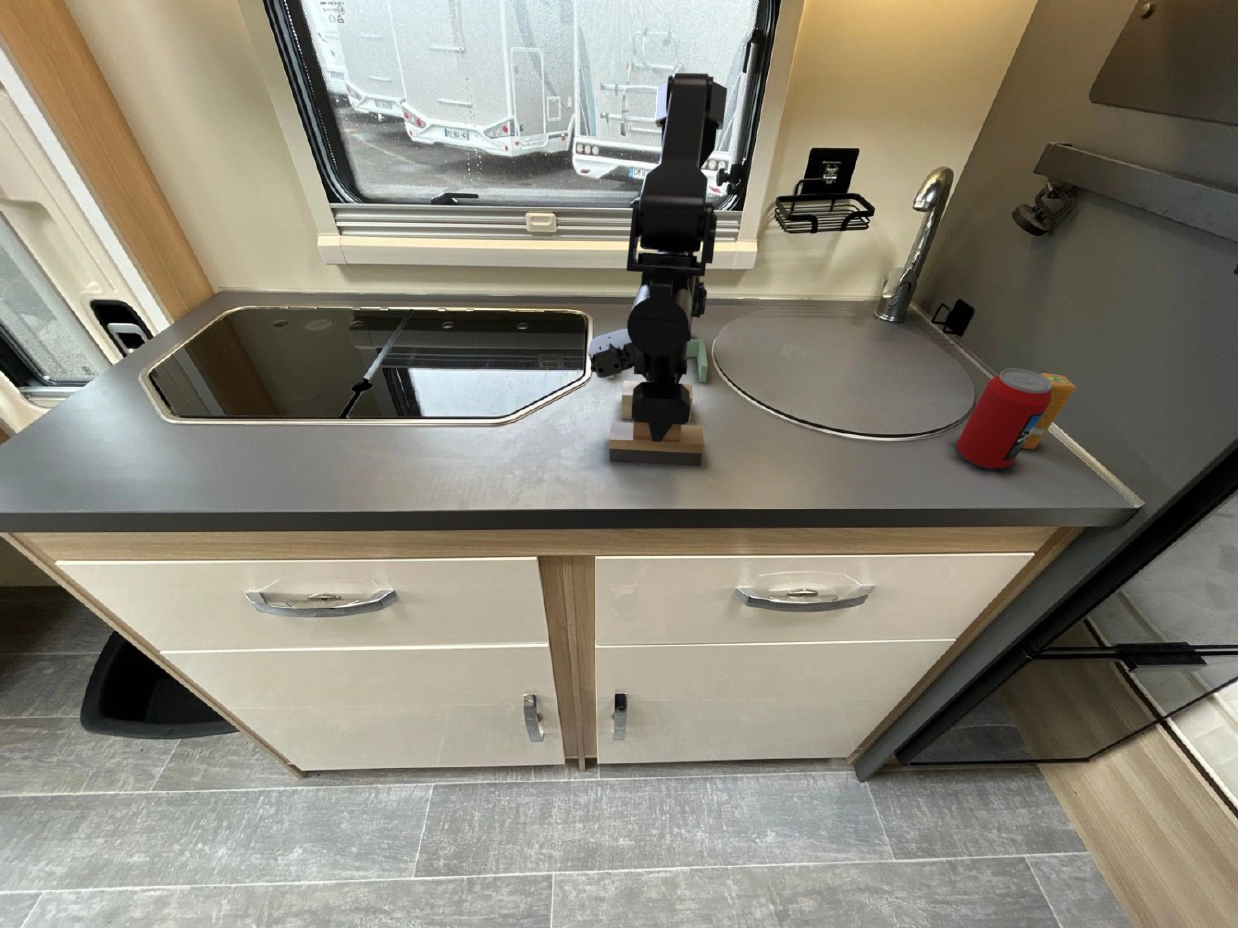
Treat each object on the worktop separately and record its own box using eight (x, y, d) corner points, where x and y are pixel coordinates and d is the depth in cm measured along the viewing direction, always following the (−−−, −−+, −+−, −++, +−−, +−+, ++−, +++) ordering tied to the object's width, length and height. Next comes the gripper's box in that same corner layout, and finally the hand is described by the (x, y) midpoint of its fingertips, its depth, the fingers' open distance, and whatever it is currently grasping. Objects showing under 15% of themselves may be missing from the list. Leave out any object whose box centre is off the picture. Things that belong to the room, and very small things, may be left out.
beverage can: (1018, 476, 68) (1070, 396, 60) (961, 469, 69) (1005, 389, 61) (999, 445, 73) (1045, 368, 65) (947, 439, 74) (986, 362, 66)
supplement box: (1037, 450, 72) (1079, 387, 66) (1010, 447, 72) (1049, 384, 66) (1027, 436, 74) (1066, 374, 68) (1001, 433, 75) (1037, 371, 69)
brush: (611, 442, 72) (611, 395, 67) (699, 447, 71) (705, 400, 67) (609, 460, 69) (609, 413, 64) (700, 465, 68) (707, 417, 64)
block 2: (662, 405, 79) (664, 382, 77) (689, 406, 79) (691, 383, 77) (662, 420, 76) (664, 397, 74) (690, 421, 76) (692, 398, 74)
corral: (612, 351, 93) (612, 335, 91) (702, 355, 92) (704, 339, 90) (607, 378, 86) (607, 361, 84) (705, 382, 85) (708, 366, 83)
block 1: (623, 403, 80) (623, 380, 77) (649, 405, 80) (650, 382, 77) (621, 418, 77) (621, 395, 74) (648, 419, 76) (650, 396, 74)
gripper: (600, 280, 65) (601, 389, 75) (582, 349, 51) (586, 472, 61) (689, 284, 65) (679, 392, 75) (697, 354, 50) (682, 477, 60)
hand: (656, 429), depth 68 cm, fingers open, 5 cm apart
